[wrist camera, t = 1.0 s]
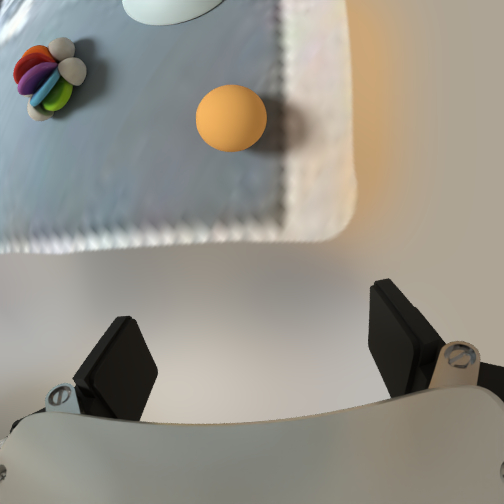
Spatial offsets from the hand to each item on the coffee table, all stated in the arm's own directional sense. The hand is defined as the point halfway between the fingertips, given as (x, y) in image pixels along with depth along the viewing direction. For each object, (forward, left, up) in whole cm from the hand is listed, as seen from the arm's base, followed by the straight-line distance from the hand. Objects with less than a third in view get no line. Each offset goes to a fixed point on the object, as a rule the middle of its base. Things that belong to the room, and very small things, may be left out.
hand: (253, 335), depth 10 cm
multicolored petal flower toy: (-22, -20, -20) cm, 35 cm away
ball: (-10, 0, -16) cm, 19 cm away
